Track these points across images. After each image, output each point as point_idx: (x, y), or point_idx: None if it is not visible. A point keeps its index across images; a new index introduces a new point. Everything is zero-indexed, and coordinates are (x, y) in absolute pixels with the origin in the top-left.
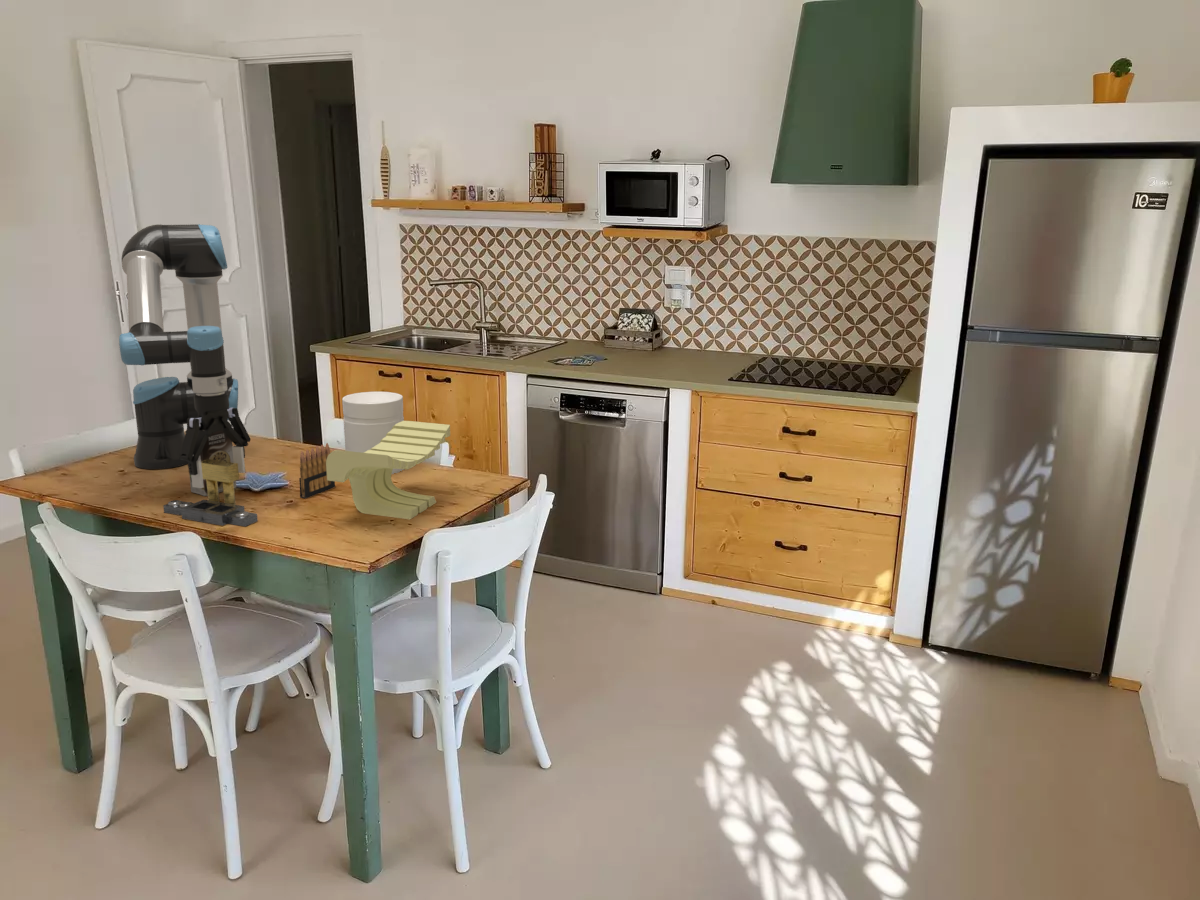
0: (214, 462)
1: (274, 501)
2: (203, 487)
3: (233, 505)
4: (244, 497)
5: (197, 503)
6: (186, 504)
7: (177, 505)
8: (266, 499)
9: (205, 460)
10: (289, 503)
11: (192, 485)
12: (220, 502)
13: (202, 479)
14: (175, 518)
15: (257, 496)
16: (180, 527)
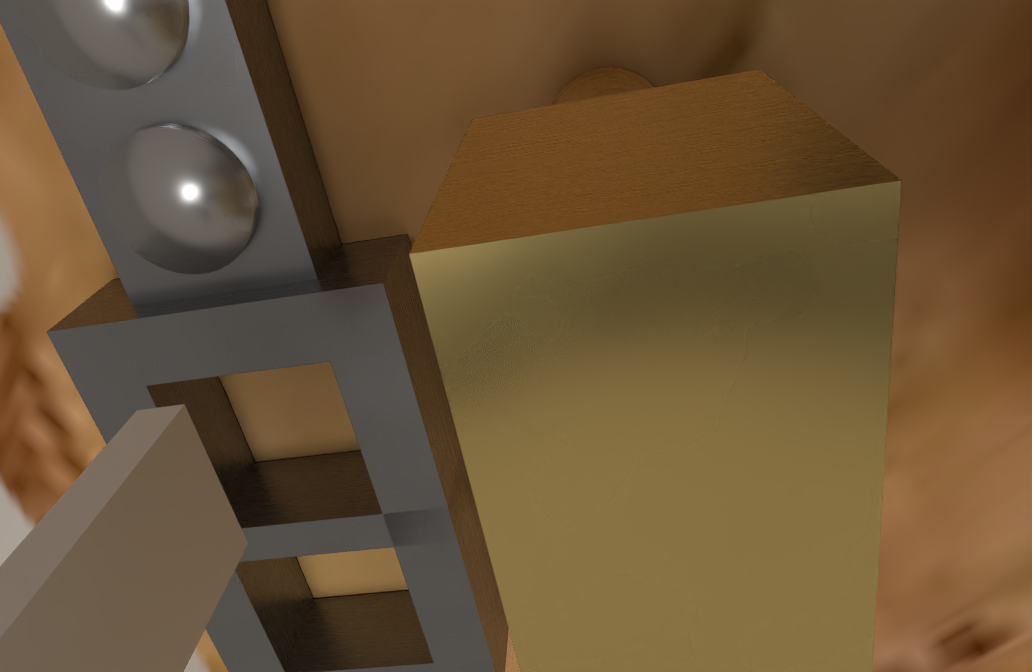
0: (674, 602)
1: (925, 555)
2: (241, 546)
3: (456, 634)
4: (930, 249)
5: (254, 342)
6: (169, 227)
7: (105, 101)
8: (952, 469)
9: (713, 247)
10: (922, 664)
11: (128, 426)
12: (438, 494)
13: (187, 646)
14: (63, 218)
15: (1013, 335)
16: (21, 443)
